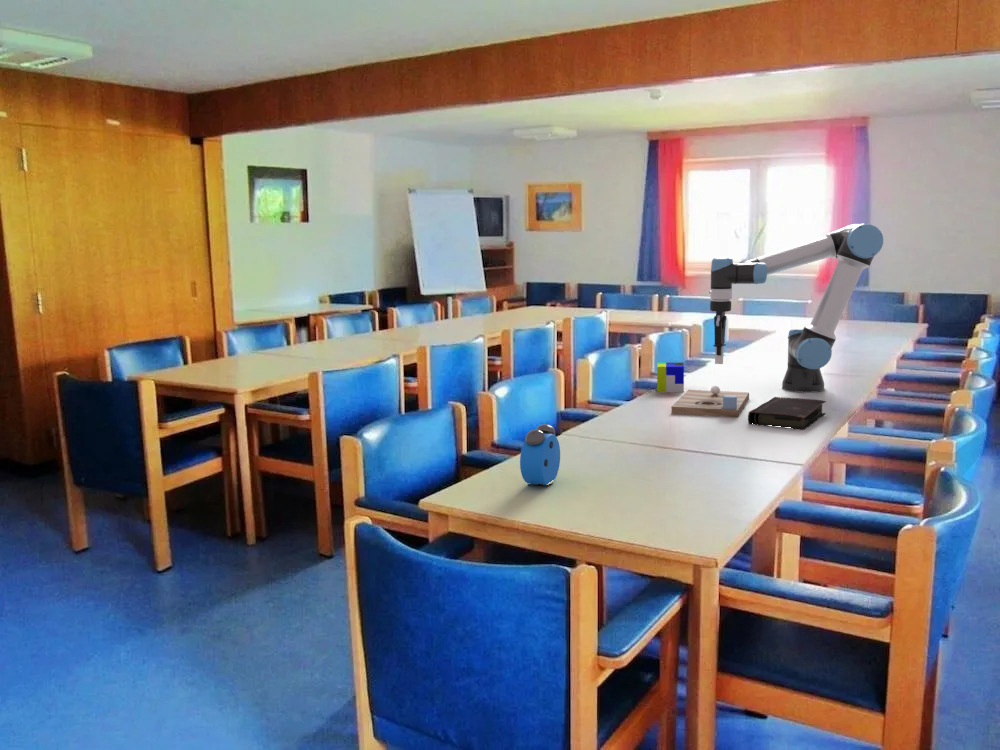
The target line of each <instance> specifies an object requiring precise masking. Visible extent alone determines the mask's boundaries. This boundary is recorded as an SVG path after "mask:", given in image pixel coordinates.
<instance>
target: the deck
mask: <svg viewBox="0 0 1000 750" xmlns="http://www.w3.org/2000/svg"><path fill="white" fill-rule="evenodd" d="M723 395H736V397H737V409H724V407H723ZM748 401H750V391H748V392H746V391H726V390H725V391H724V390H723V391H722V390H720V392H719V394H717V395H714V394H712V393H711V390H709V389H707V390H703V389H702V390H701V389H688V390H686V391H685V392H684V393H683V395H681V396H680V397H679V398H678V400H676V401H675V402H674V403H673V405H671V414H673V415H687V416H689V415H690V416H704V415H708V416H709V417H721V416H722V417H723V416H724V417H725V418H738V417H739V416H740V414H741V413H742V411H743V410H744V408H745V407H746V405H747V403H748ZM722 417H721V418H722Z"/></svg>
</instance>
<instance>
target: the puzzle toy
mask: <svg viewBox="0 0 1000 750" xmlns="http://www.w3.org/2000/svg"><path fill="white" fill-rule="evenodd" d="M656 368H657V369H656V370H657V371H656V375H657V376H656V377H657V378H656V380H657V381H656V382H657V383H656V384H657V385H656V387H657V388H656V390H657V391H656V392H657V393H685V391H684V390H685V389H684V388H685V387H684V386H685V383H684V382H685V378H684V377H685V375H684V373H685V363H684V362H657V367H656Z"/></svg>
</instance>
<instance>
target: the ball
mask: <svg viewBox="0 0 1000 750" xmlns="http://www.w3.org/2000/svg"><path fill="white" fill-rule="evenodd" d="M710 391H711V393H712V394H714V395H717V394H719V392H720V391H721V389H720V387H719V386H717V385H714V386H712V387H711V389H710Z"/></svg>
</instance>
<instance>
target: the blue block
mask: <svg viewBox="0 0 1000 750" xmlns="http://www.w3.org/2000/svg"><path fill="white" fill-rule="evenodd" d="M723 407H724V409H737V397H736V395H723Z"/></svg>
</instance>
